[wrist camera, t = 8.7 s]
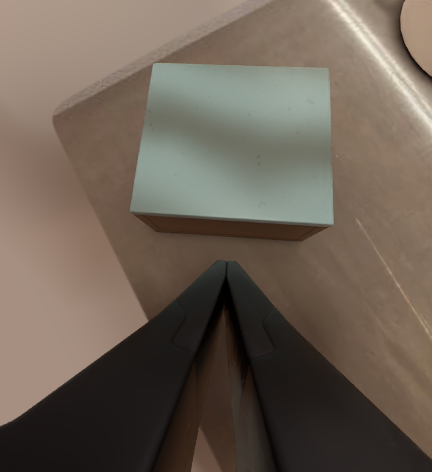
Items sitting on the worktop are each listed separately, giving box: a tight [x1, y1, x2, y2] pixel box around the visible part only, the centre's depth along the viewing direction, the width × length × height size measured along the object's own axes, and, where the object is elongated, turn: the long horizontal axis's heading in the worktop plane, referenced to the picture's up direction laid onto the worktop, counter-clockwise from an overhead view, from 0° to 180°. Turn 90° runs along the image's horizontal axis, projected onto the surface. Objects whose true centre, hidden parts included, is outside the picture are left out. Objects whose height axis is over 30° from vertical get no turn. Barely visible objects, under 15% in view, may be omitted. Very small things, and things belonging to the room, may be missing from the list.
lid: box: [130, 63, 334, 227], centre depth 18 cm, size 13×15×1 cm
